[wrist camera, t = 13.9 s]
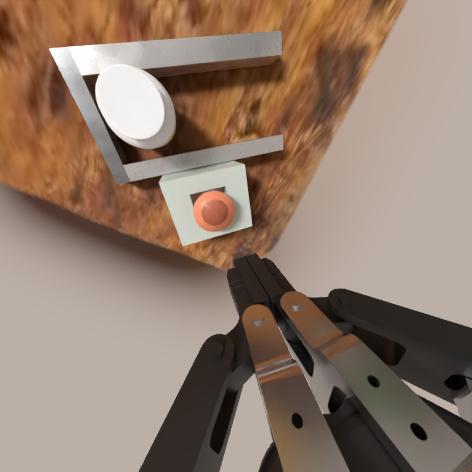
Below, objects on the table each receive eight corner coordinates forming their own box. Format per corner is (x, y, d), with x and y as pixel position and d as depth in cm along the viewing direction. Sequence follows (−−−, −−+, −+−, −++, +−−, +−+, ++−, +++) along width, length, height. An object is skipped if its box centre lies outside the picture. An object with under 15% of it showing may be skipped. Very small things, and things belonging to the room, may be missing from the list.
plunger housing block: (228, 159, 27) (244, 164, 20) (236, 211, 32) (252, 229, 25) (163, 172, 25) (158, 182, 19) (182, 225, 30) (184, 249, 23)
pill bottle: (111, 108, 21) (56, 78, 11) (153, 79, 21) (132, 25, 11) (149, 157, 24) (130, 164, 15) (185, 132, 24) (190, 124, 15)
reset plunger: (223, 181, 22) (231, 187, 19) (229, 214, 25) (237, 225, 21) (186, 189, 22) (188, 198, 18) (197, 223, 24) (200, 236, 21)
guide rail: (269, 43, 22) (281, 30, 20) (273, 149, 28) (283, 149, 26) (67, 61, 18) (48, 48, 16) (123, 180, 24) (117, 184, 22)
